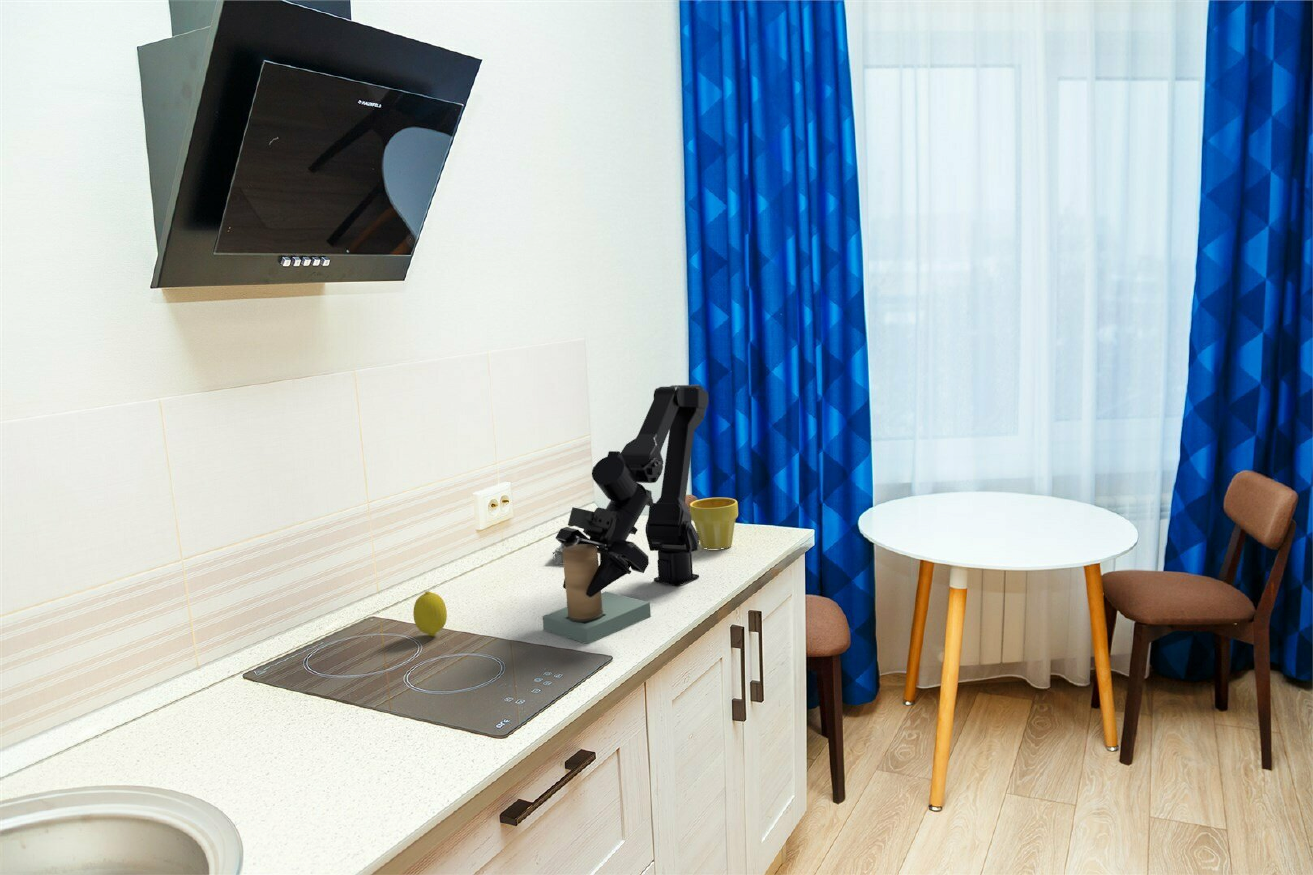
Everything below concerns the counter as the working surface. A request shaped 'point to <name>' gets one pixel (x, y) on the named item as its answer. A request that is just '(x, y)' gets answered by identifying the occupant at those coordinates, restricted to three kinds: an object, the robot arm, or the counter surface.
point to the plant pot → (714, 521)
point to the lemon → (430, 613)
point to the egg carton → (559, 554)
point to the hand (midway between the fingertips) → (576, 592)
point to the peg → (581, 583)
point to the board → (615, 618)
